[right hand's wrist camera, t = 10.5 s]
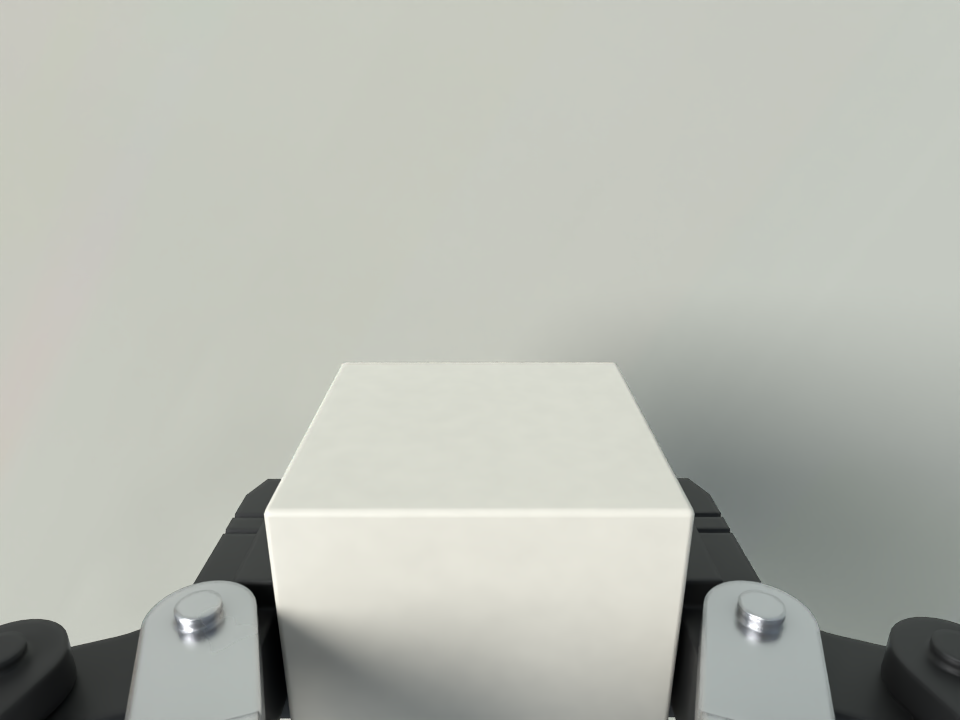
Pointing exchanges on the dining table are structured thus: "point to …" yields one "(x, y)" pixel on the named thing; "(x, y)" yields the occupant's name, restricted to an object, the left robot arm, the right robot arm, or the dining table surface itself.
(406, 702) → the block
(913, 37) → the dining table surface
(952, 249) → the dining table surface
